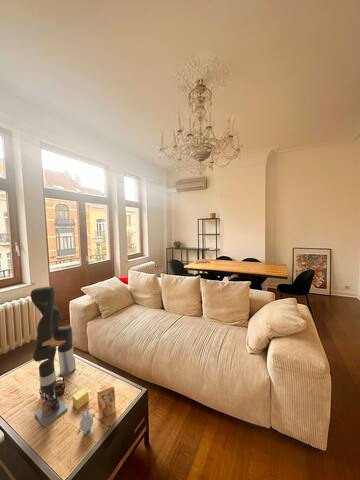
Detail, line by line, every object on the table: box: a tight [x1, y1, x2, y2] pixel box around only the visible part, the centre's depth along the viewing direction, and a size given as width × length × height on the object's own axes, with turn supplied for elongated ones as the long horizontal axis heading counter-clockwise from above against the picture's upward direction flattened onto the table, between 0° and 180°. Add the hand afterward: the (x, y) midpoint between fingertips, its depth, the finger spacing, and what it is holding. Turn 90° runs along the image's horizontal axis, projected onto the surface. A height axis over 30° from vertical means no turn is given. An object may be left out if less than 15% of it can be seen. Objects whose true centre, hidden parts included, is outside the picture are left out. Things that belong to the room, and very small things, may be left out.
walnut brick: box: [40, 396, 60, 418], centre depth 115 cm, size 7×5×6 cm
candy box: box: [96, 383, 117, 420], centre depth 113 cm, size 9×4×15 cm, turn 116°
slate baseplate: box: [34, 399, 68, 428], centre depth 115 cm, size 12×12×1 cm
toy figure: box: [77, 408, 96, 436], centre depth 104 cm, size 11×6×12 cm, turn 154°
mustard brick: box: [72, 387, 90, 410], centre depth 121 cm, size 7×5×6 cm
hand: (50, 406), depth 115 cm, fingers open, 8 cm apart
